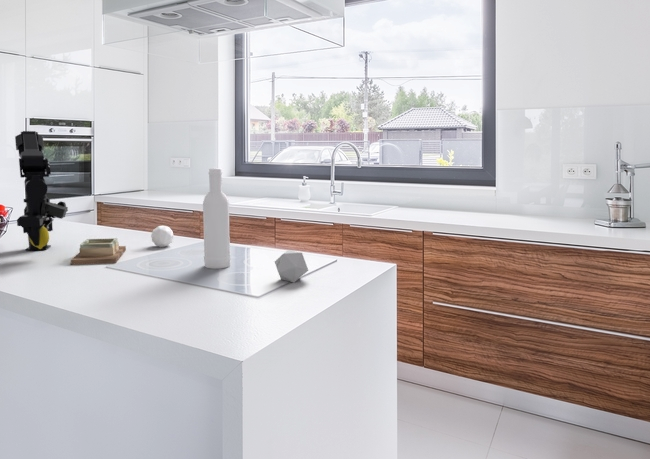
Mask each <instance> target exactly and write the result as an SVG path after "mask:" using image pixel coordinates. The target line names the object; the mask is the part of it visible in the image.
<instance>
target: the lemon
mask: <svg viewBox="0 0 650 459" xmlns="http://www.w3.org/2000/svg"><path fill="white" fill-rule="evenodd" d="M29 239H30V237H29ZM49 240H50V232H49V231H48V230H47V229H46V228H45V227H44V226H43V227H42V228H41V230H40V241H39V246H35V245H34V243H33V242H32V240H31V239H30V242H31V244H32V245H33V246H35V247H38V248H39V249H42V247H44V246H45V245H48V244H49Z"/></svg>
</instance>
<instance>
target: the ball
mask: <svg viewBox="0 0 650 459" xmlns="http://www.w3.org/2000/svg"><path fill="white" fill-rule="evenodd" d="M150 237H151V241H152V243H154V246H156V247H159V248H164V247H167V246H169V245H171V244H172V243H173V242H174V241H173V240H174V232H173V230H172V229H171V228H170V227H169V226H167V225H158V226H157V227H155V228H153V230H152V233H151V236H150Z"/></svg>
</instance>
